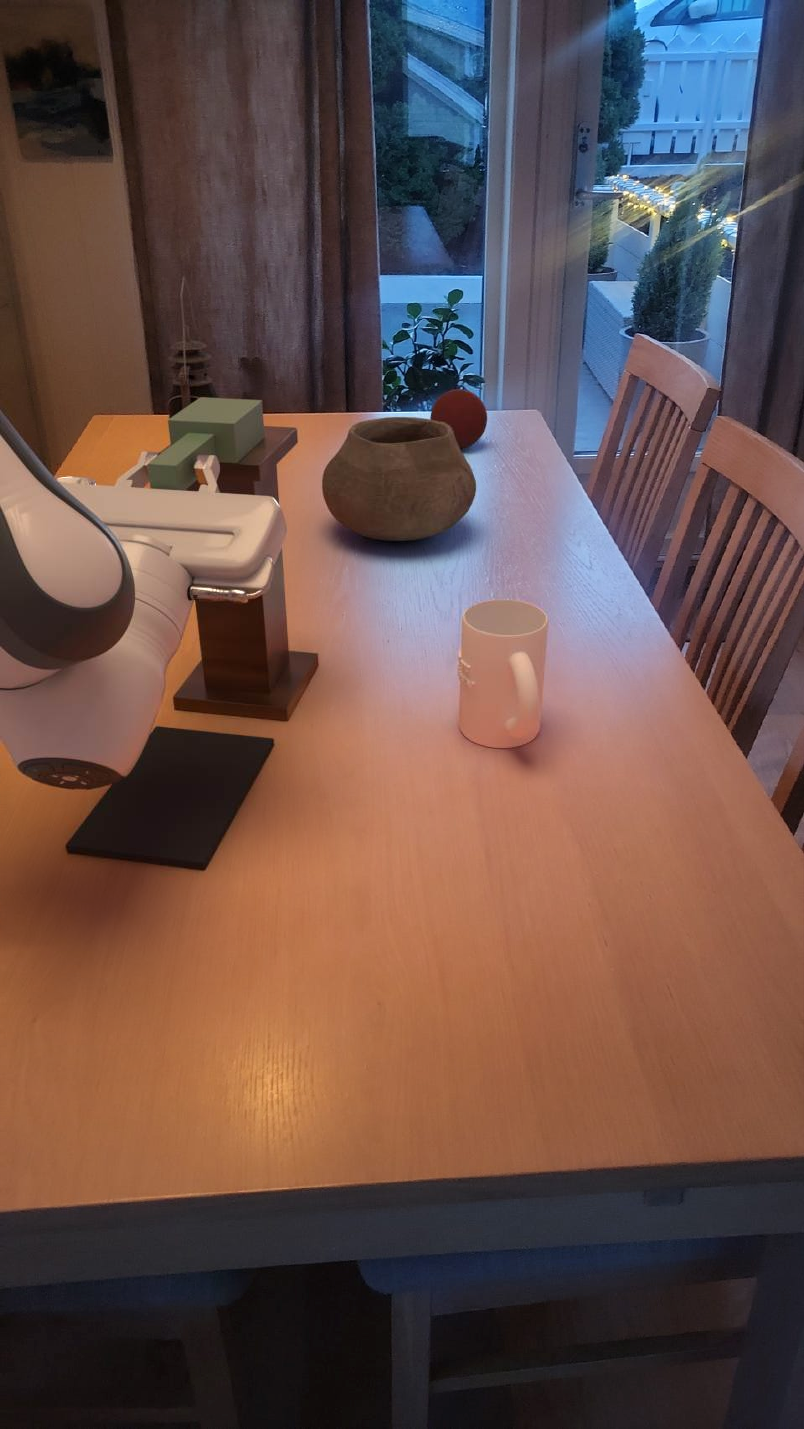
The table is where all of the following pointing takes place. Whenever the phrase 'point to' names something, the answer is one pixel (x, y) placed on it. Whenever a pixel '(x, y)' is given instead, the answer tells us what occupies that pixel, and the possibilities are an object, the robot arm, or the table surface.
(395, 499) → the clay pot
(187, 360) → the lantern
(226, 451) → the green block mallet
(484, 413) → the decorative ball
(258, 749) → the mat
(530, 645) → the mug
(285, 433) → the stand
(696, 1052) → the table surface
